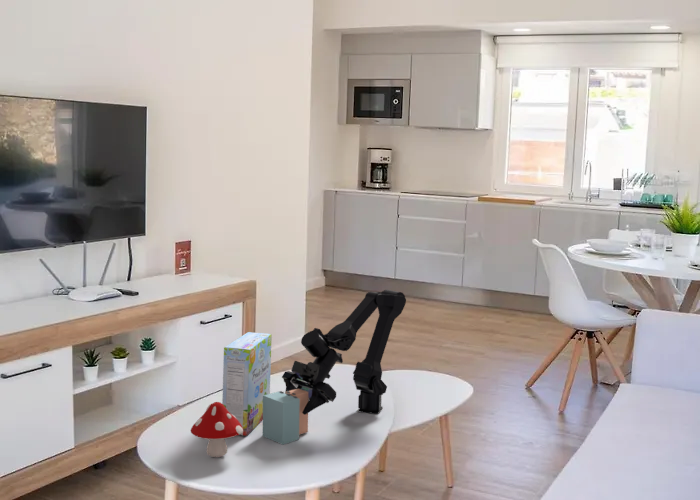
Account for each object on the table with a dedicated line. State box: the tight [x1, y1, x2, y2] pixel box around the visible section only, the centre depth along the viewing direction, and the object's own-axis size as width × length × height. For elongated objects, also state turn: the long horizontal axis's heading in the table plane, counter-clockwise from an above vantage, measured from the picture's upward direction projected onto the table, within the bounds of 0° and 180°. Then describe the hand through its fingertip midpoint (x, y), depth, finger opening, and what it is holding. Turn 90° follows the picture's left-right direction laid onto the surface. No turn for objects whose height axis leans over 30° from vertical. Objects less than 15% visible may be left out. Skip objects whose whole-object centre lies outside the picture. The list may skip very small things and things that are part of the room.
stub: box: [284, 389, 309, 436], centre depth 236 cm, size 5×4×12 cm
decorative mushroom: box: [190, 401, 243, 458], centre depth 218 cm, size 14×14×15 cm
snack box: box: [221, 331, 272, 437], centre depth 243 cm, size 22×9×26 cm, turn 168°
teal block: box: [262, 390, 300, 446], centre depth 232 cm, size 6×9×12 cm, turn 45°
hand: (293, 410), depth 235 cm, fingers open, 9 cm apart
